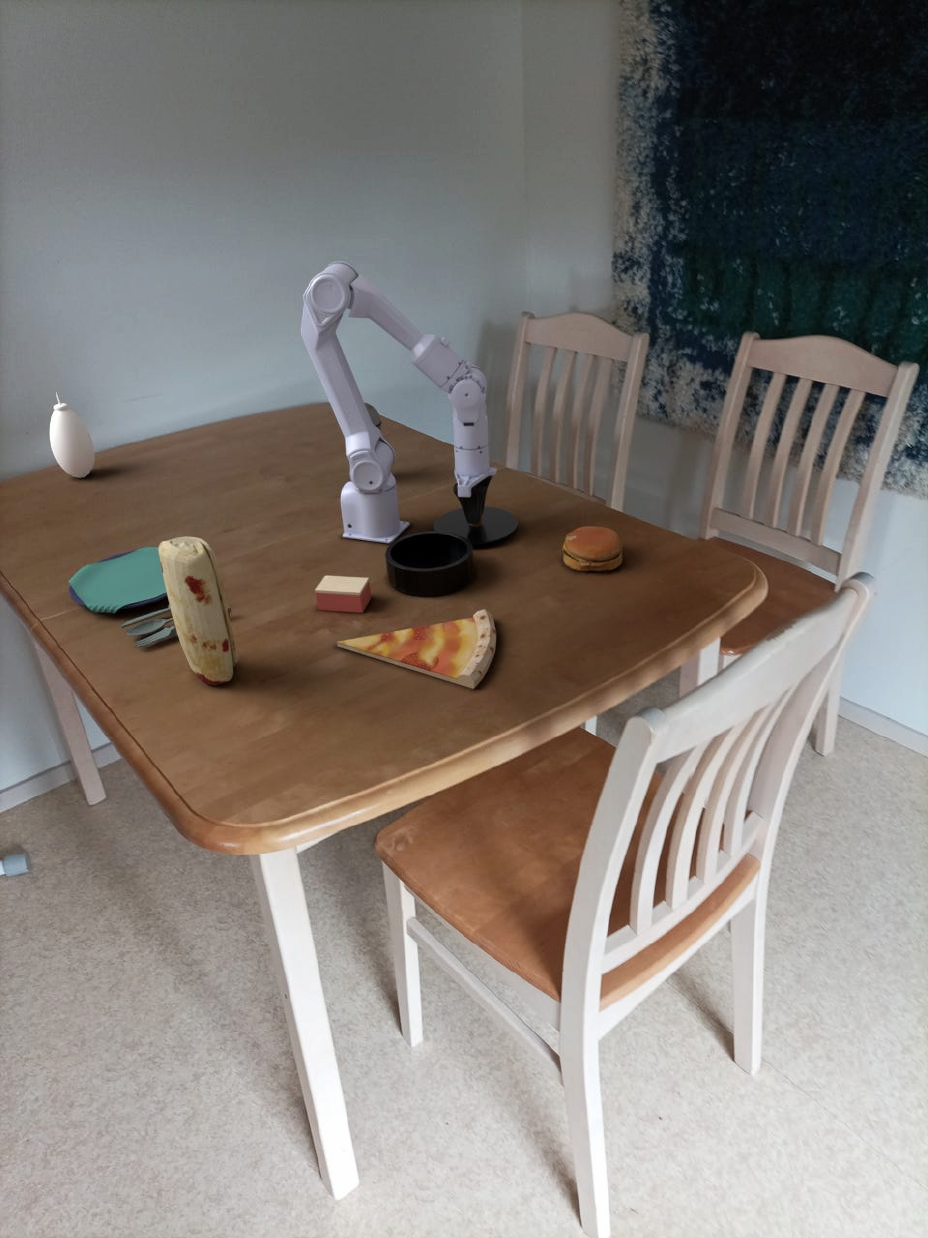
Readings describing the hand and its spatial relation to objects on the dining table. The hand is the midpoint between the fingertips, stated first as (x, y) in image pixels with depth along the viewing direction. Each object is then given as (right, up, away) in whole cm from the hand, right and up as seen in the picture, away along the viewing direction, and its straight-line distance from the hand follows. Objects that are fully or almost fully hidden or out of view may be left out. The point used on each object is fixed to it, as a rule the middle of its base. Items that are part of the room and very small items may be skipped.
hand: (474, 519), depth 150 cm
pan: (-7, -10, -12) cm, 17 cm away
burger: (+19, -8, -10) cm, 23 cm away
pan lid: (0, -1, +1) cm, 1 cm away
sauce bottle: (-83, +13, +34) cm, 90 cm away
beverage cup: (-21, +10, +24) cm, 33 cm away
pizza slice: (-6, -20, -28) cm, 35 cm away
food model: (-35, -25, -32) cm, 54 cm away
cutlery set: (-51, -14, -13) cm, 55 cm away
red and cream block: (-20, -15, -18) cm, 31 cm away
